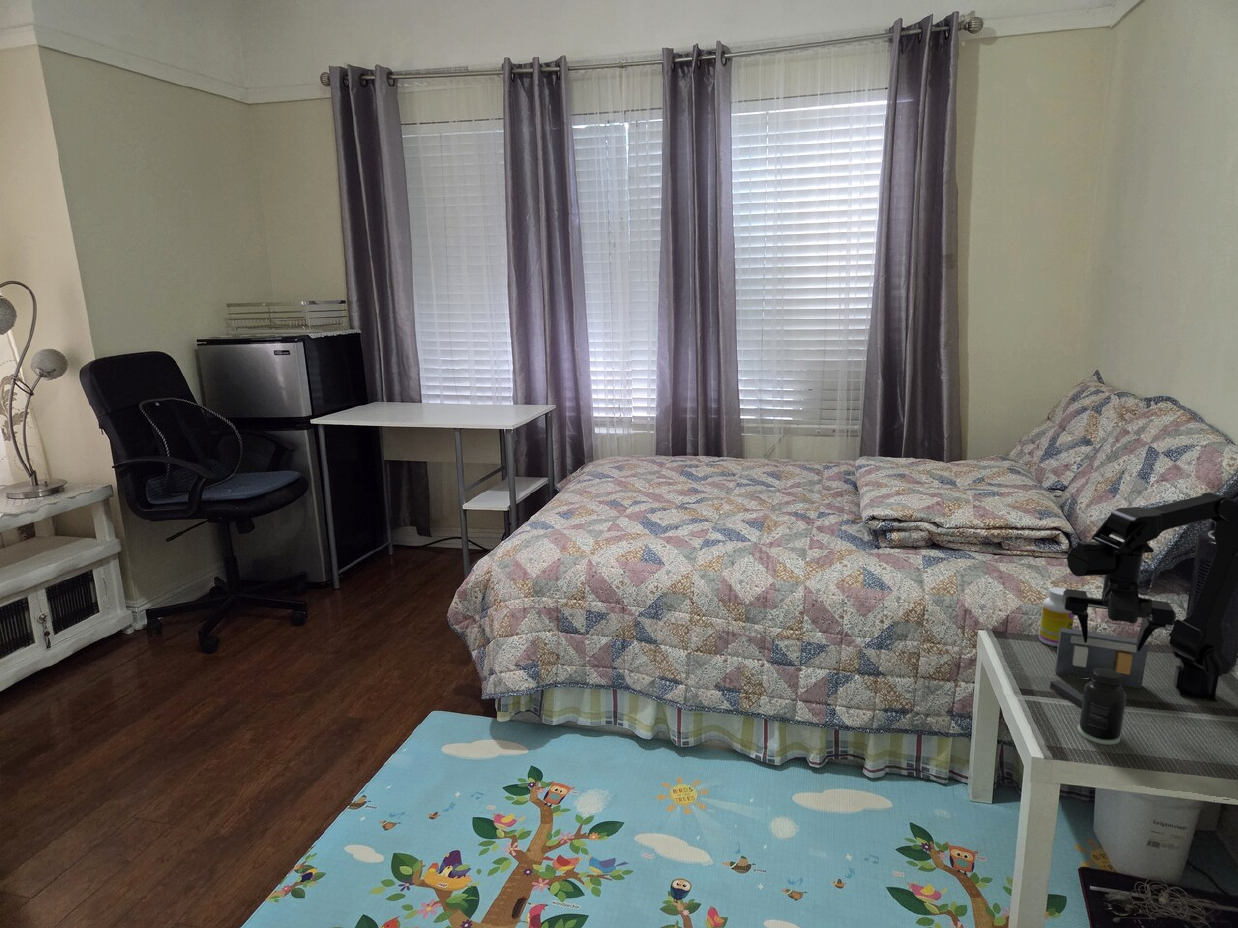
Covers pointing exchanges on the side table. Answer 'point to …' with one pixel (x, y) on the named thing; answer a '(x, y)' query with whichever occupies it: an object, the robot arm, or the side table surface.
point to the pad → (1096, 740)
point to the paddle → (1080, 656)
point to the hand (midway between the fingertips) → (1111, 645)
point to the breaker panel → (1099, 655)
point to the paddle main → (1123, 663)
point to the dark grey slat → (1067, 692)
